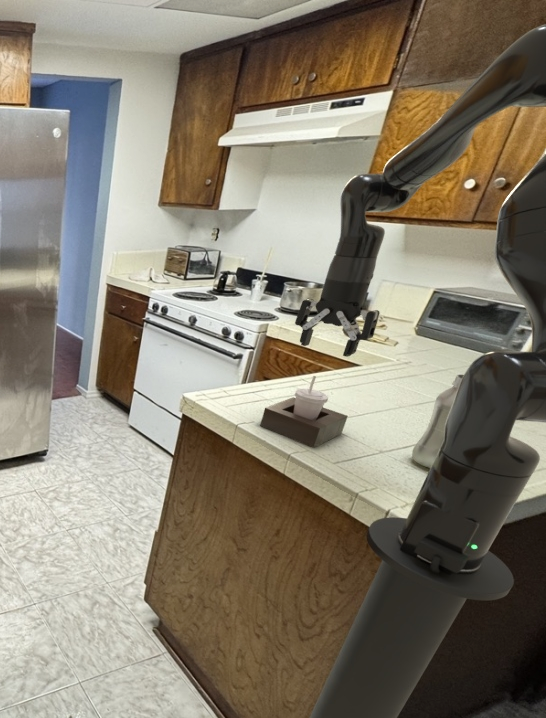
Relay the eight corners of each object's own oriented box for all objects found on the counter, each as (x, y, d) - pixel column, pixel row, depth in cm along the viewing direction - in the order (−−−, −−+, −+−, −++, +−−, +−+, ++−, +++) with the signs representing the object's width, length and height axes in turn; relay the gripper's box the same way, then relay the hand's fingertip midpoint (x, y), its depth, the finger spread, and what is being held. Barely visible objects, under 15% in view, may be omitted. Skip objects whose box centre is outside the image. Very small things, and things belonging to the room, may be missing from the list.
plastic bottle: (445, 461, 100) (486, 375, 92) (453, 477, 95) (498, 387, 86) (405, 453, 103) (442, 369, 95) (411, 468, 98) (451, 380, 90)
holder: (313, 447, 106) (320, 428, 104) (259, 425, 116) (264, 407, 114) (341, 434, 111) (348, 415, 109) (287, 414, 121) (293, 397, 119)
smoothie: (288, 421, 118) (304, 369, 112) (319, 430, 113) (337, 376, 108) (281, 430, 113) (297, 377, 108) (313, 439, 109) (331, 384, 104)
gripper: (302, 274, 103) (282, 344, 109) (380, 284, 91) (353, 362, 98) (320, 271, 106) (300, 339, 112) (398, 281, 94) (371, 356, 101)
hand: (325, 350), depth 105 cm, fingers open, 8 cm apart
